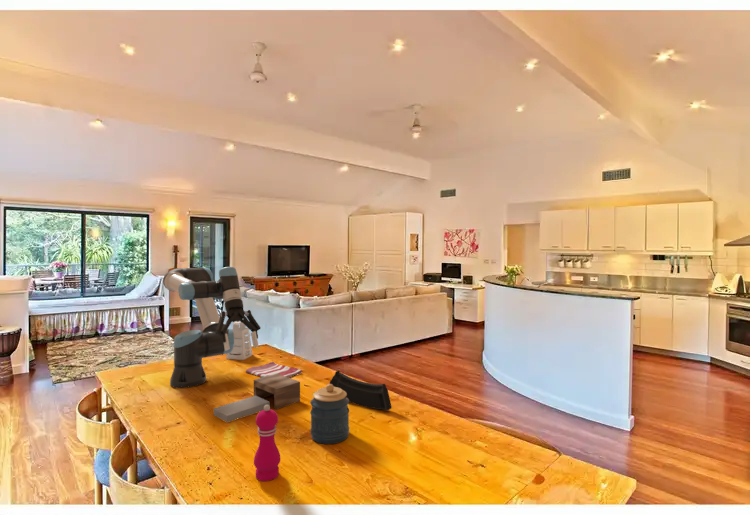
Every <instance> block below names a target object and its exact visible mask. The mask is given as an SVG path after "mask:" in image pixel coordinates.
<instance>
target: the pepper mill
mask: <svg viewBox="0 0 750 515" xmlns="http://www.w3.org/2000/svg"><path fill="white" fill-rule="evenodd" d="M278 422H279V416H278V413H277V412H276V411H275V409H271V405H270V406H269V405H265V406H264V410H262V411H260V412H257V415H256V417H255V425H256V427H257V435H258V436H259V444H258V448H257V449H256V451H255V454H254V458H253V465H254V467H255V468H256V469H255V478H256V479H257V480H258V481H260V482H269V480H270V481H272V479H273V480H275V479H276V478H277V477H278V476H279V474H280V472H279V471H280V469H279V468H280V467H279V465H280V463H281V453H280V450H279V448H278V447H277V444H276V442H275V434H276V433H277V426H276V425H277V424H278Z"/></svg>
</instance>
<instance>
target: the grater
mask: <svg viewBox="0 0 750 515" xmlns="http://www.w3.org/2000/svg"><path fill="white" fill-rule="evenodd" d="M232 323H233V324H232V330H233V333H234V346H233V350H232V351H231V352H230V353H227V354H226V356H225V357H226V358H225V359H226V360H237V361H238V360H239V361H245V360H246V359H248V358H250V357H252V356H254V355H253V347H252V341H251V337H250V336H251V333H250V329H249V328H248V327H247V326H246V325H244V324H243V323H242V322H232Z"/></svg>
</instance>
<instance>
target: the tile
mask: <svg viewBox="0 0 750 515" xmlns="http://www.w3.org/2000/svg"><path fill="white" fill-rule="evenodd" d="M270 404H271V403H270V401H268V400H267V399H265V398H260V397H258V396H254V395H253V396H250V397H246V398H243V399H240V400H237V401H233V402H231V403H227V404H224V405H220V406H218V407H213V416H215V417H216V416H217V418H218V419H220V420H221V419H222V420H221V421H223V420H224V421H223V422H225V421H226V422H225V423H227V422H228V423H230V422H229V421H231V422H233V421H232V420H234V421H236V420H235V419H237V418H240V419H242V418H241V417H243V418H245V417H248V416H251V415H254V414H256V412H257V413H259V411H260V412H261V411H262V410H264V406H265V405H269V406H270V407H271V405H270ZM250 414H251V415H250ZM247 415H248V416H247ZM244 416H245V417H244ZM237 420H238V419H237Z"/></svg>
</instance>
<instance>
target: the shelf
mask: <svg viewBox="0 0 750 515" xmlns="http://www.w3.org/2000/svg"><path fill="white" fill-rule="evenodd" d="M272 395H273V398H274V399H273V405H274V406H273V408H274V410H279V409H282V408H285V407H288V406H290V405H293V404H295V403H299V402H301V381H299V380H295V379H293V378H292V377H291V378H288V377H285V376H282V375H280V374H273V375H270V376H266V377H258V378H256V379H253V396H258V397H260V398H262V399H264V398H266V397H269V396H272Z"/></svg>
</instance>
